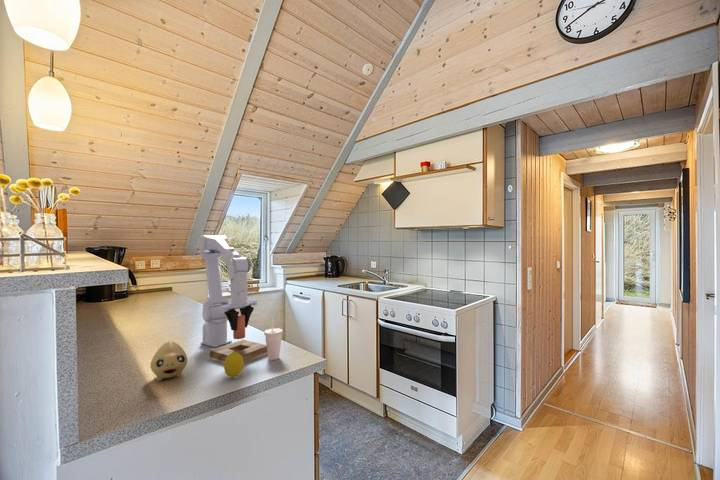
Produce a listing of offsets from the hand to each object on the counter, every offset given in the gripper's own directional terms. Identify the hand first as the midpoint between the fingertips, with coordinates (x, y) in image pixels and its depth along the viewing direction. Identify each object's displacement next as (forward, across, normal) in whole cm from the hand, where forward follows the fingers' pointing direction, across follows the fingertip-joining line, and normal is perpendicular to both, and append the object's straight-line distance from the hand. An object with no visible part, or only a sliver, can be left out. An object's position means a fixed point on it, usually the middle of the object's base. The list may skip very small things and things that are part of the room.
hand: (239, 328), depth 117 cm
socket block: (+10, 0, 0) cm, 10 cm away
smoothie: (+10, +5, -12) cm, 17 cm away
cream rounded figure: (+10, -23, +3) cm, 25 cm away
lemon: (+10, -13, -14) cm, 22 cm away
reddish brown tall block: (+3, 0, 0) cm, 3 cm away
